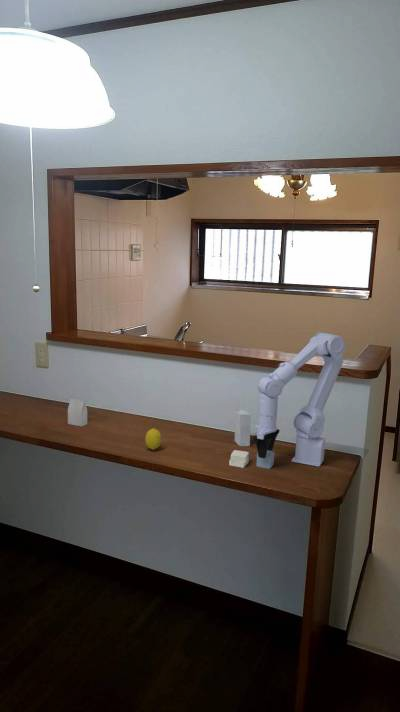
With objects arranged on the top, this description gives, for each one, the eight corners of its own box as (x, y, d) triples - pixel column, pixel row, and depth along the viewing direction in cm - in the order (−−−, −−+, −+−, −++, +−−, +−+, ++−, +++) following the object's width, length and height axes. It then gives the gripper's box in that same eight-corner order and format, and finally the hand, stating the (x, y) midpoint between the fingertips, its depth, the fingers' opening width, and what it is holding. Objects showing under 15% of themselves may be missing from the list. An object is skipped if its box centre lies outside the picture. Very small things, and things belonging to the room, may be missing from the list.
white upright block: (81, 426, 204) (81, 402, 202) (67, 423, 206) (67, 399, 204) (87, 424, 207) (87, 399, 205) (73, 421, 210) (73, 397, 208)
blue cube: (273, 464, 171) (274, 451, 170) (269, 469, 167) (270, 455, 166) (260, 462, 173) (261, 449, 172) (256, 466, 169) (257, 453, 168)
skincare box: (250, 446, 188) (252, 414, 186) (238, 446, 186) (240, 414, 184) (244, 440, 193) (246, 409, 191) (233, 441, 192) (234, 409, 190)
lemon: (146, 453, 177) (147, 431, 175) (144, 447, 182) (144, 426, 181) (162, 452, 178) (162, 430, 177) (159, 446, 184) (159, 425, 182)
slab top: (248, 457, 172) (248, 451, 171) (245, 462, 167) (245, 457, 167) (233, 455, 173) (234, 450, 173) (230, 460, 168) (230, 455, 168)
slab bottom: (248, 463, 172) (248, 458, 171) (243, 469, 167) (243, 463, 167) (234, 461, 174) (234, 455, 173) (229, 466, 169) (229, 460, 169)
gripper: (262, 407, 175) (260, 445, 177) (249, 417, 162) (246, 458, 164) (283, 410, 172) (280, 448, 175) (270, 421, 159) (267, 462, 161)
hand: (265, 453), depth 169 cm, fingers open, 7 cm apart
